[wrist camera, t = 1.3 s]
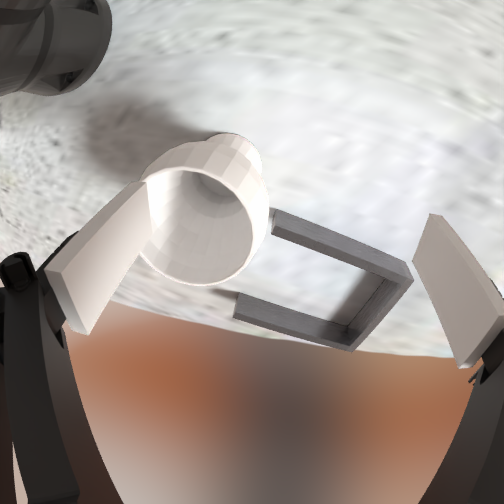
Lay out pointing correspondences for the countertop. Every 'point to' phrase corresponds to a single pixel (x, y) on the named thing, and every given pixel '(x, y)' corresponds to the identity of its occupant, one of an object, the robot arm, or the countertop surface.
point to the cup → (205, 210)
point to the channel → (342, 250)
